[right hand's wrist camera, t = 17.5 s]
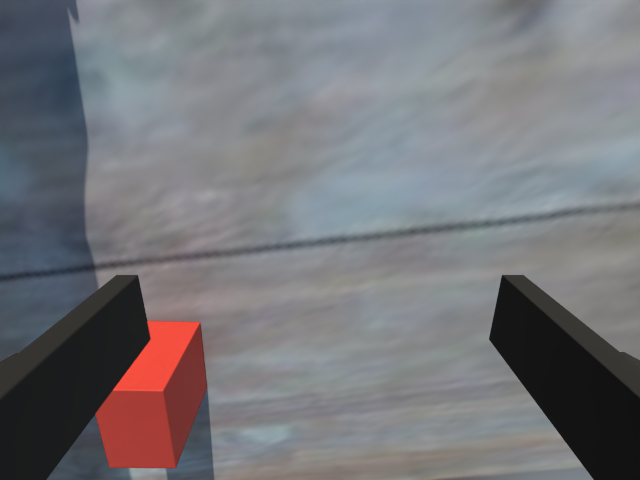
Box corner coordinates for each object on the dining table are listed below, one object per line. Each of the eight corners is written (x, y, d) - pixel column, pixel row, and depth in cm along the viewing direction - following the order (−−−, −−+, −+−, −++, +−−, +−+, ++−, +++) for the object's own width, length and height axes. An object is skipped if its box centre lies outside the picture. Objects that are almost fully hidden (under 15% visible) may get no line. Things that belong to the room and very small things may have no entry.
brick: (200, 321, 33) (163, 390, 25) (207, 387, 36) (175, 468, 28) (144, 320, 33) (88, 389, 25) (155, 386, 36) (108, 468, 28)
